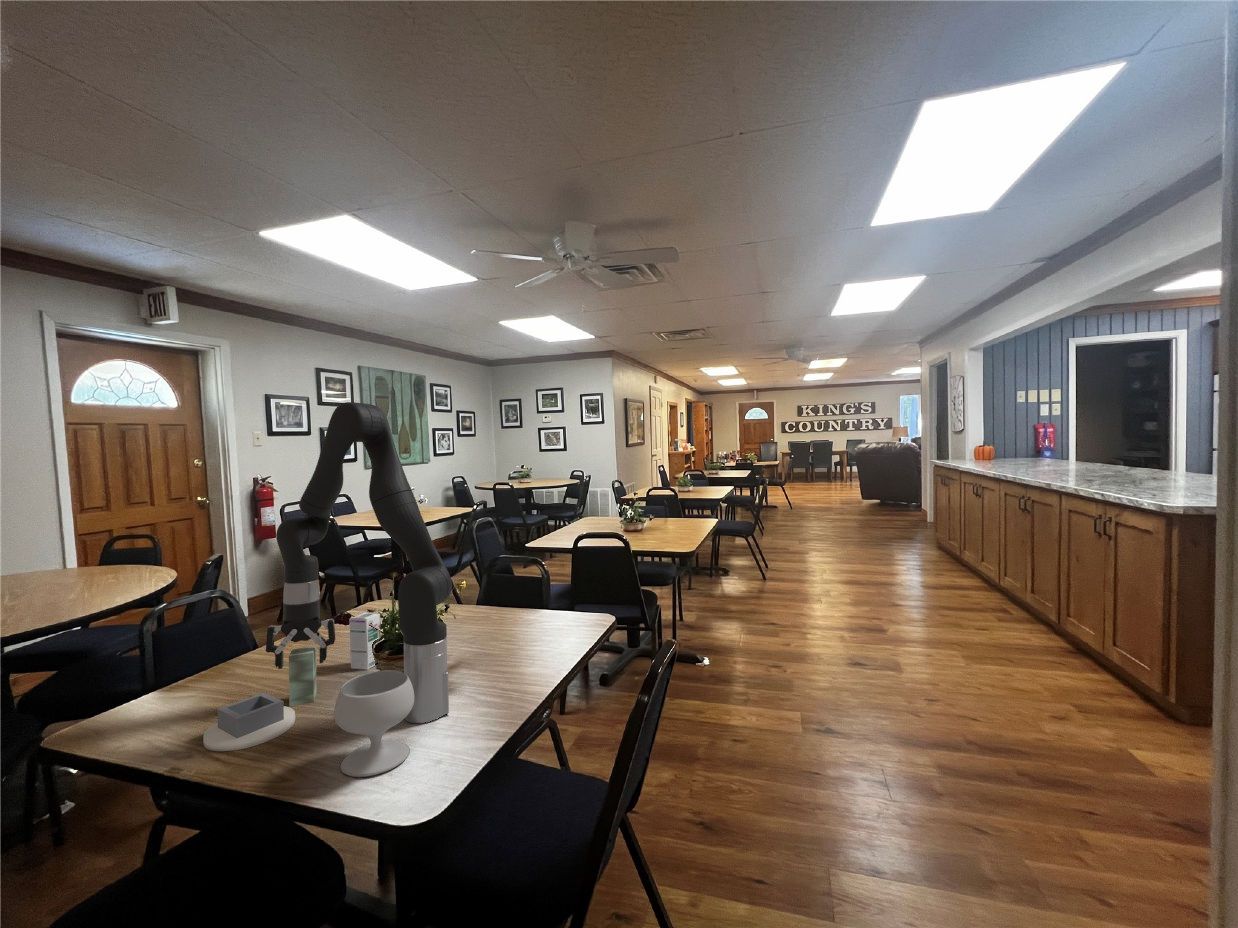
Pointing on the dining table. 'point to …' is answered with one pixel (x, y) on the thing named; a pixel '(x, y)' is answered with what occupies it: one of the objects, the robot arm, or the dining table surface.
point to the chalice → (374, 719)
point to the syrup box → (363, 639)
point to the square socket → (249, 723)
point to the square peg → (302, 675)
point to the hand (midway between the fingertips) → (301, 664)
